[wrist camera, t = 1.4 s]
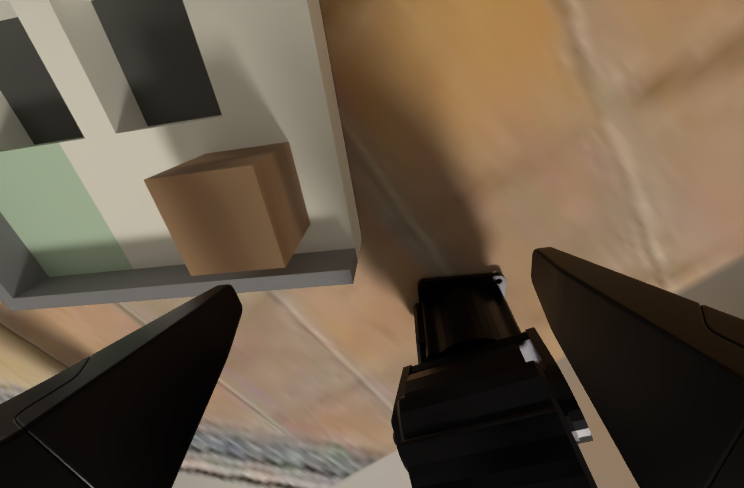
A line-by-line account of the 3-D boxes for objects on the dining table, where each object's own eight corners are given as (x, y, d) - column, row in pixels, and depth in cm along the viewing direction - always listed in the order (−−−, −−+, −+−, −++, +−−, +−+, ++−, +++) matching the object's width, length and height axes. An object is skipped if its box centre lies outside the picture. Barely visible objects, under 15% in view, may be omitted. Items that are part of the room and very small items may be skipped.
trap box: (301, -94, 15) (256, -173, 10) (362, 240, 23) (353, 283, 18) (-99, 4, 18) (-280, -21, 13) (81, 267, 26) (10, 311, 22)
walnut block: (288, 141, 17) (252, 165, 13) (310, 224, 20) (285, 267, 15) (205, 153, 18) (143, 179, 14) (235, 232, 20) (191, 275, 16)
